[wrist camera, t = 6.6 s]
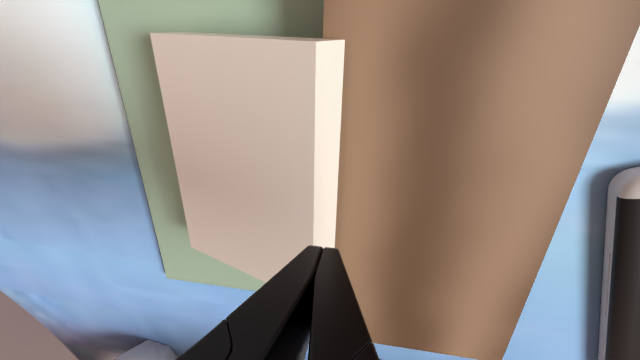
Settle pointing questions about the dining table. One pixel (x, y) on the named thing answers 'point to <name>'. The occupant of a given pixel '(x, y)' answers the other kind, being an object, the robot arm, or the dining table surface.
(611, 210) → the smartphone
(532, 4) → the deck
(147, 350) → the salt shaker
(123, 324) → the dining table surface
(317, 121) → the pale pink slab
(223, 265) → the mat
